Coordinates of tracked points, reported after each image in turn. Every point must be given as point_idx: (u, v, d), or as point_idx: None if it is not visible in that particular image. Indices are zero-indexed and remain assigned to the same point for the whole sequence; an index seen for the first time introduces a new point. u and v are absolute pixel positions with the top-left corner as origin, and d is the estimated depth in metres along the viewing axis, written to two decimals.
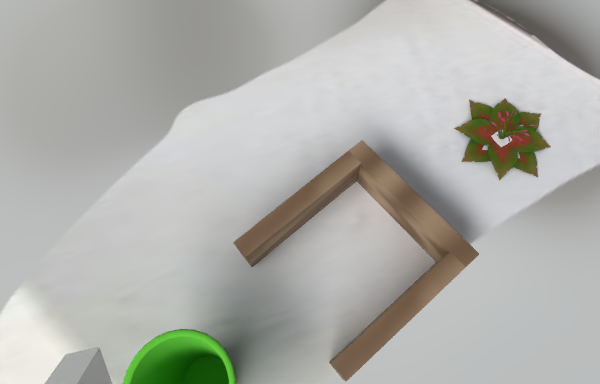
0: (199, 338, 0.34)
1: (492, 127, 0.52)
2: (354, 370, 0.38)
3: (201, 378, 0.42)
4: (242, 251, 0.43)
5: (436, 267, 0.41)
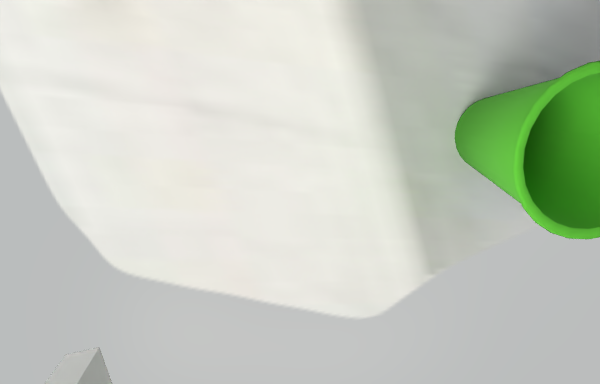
0: None
1: None
2: None
3: None
4: None
5: None
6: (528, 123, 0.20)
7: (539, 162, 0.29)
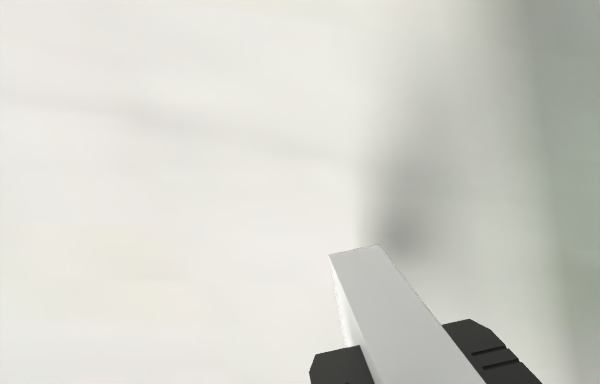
0: None
1: None
2: None
3: None
4: None
5: None
6: None
7: None
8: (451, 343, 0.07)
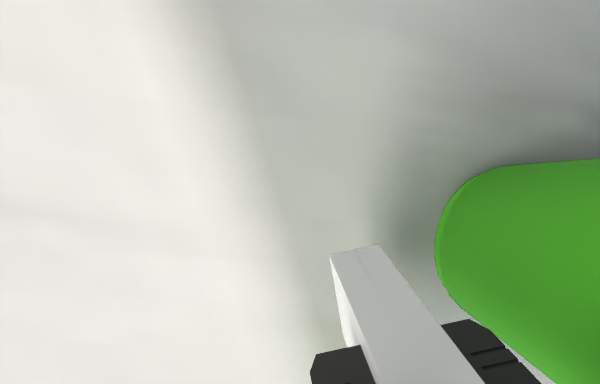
0: None
1: None
2: None
3: None
4: None
5: None
6: None
7: None
8: (450, 343, 0.07)
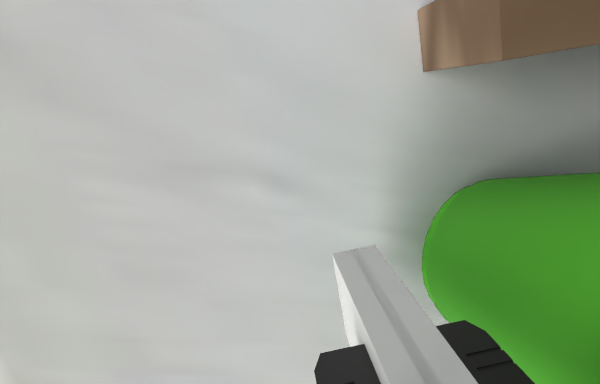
0: None
1: None
2: None
3: None
4: (506, 29, 0.10)
5: None
6: None
7: None
8: (445, 344, 0.07)
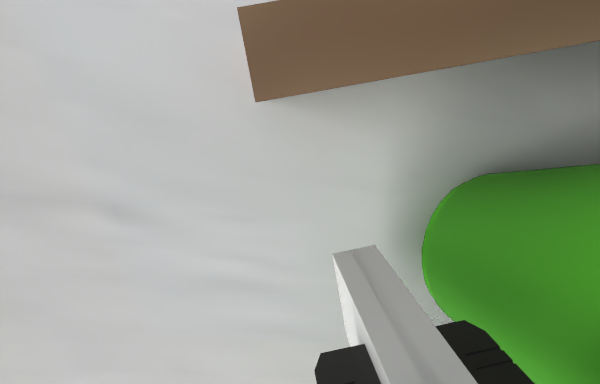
0: None
1: None
2: None
3: None
4: (255, 71, 0.09)
5: None
6: None
7: None
8: (445, 344, 0.07)
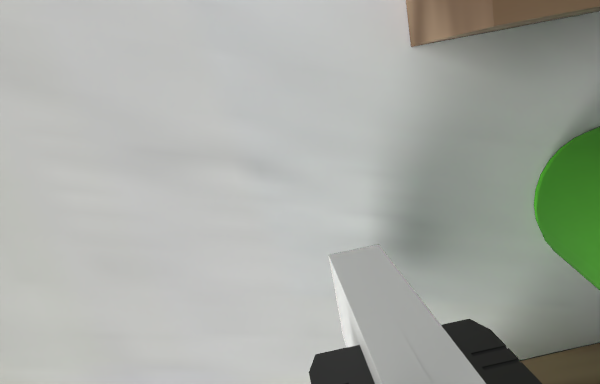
0: None
1: None
2: None
3: None
4: None
5: None
6: None
7: None
8: (451, 343, 0.07)
